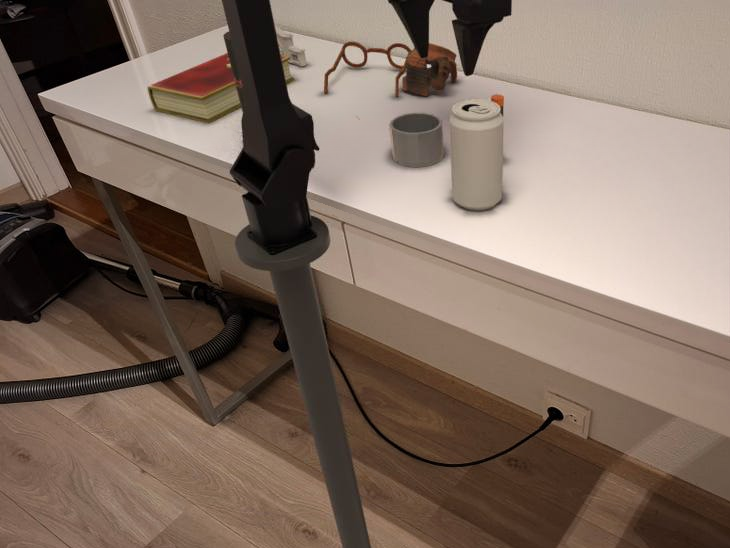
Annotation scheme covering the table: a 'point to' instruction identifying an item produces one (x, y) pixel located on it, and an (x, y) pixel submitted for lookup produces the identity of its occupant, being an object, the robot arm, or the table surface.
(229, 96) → the hardcover book
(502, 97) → the rod
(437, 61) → the brown jagged blocky figurine
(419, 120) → the pen pot
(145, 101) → the table surface
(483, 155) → the beverage can
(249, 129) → the robot arm
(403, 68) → the glasses
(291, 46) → the garden wall model
